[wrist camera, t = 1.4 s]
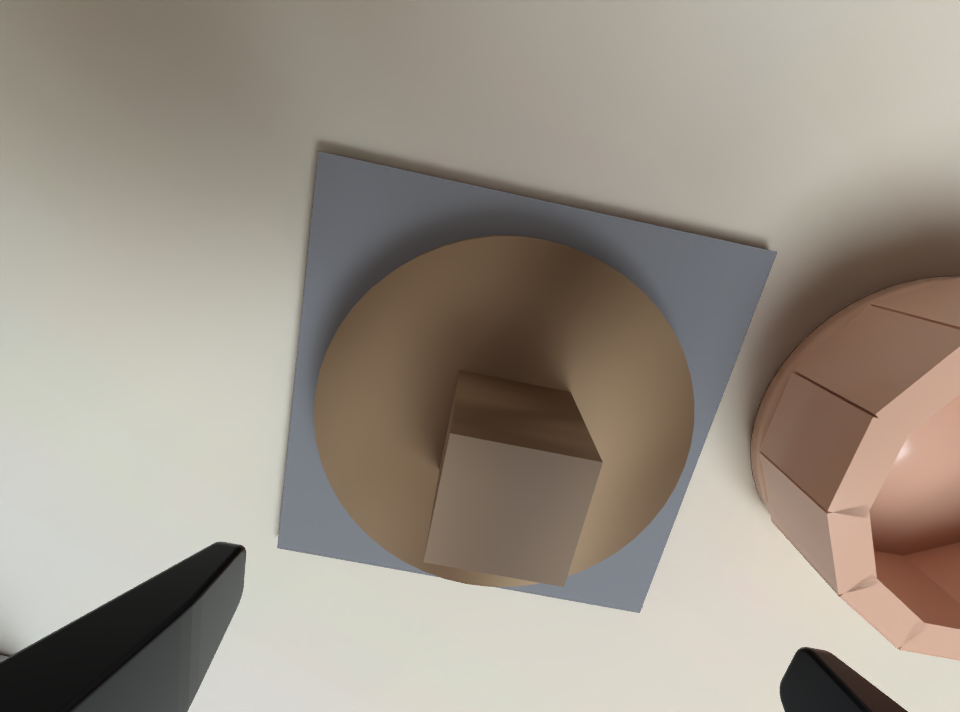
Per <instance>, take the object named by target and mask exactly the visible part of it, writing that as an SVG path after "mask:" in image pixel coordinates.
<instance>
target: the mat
mask: <svg viewBox="0 0 960 712" xmlns="http://www.w3.org/2000/svg"><path fill="white" fill-rule="evenodd" d="M490 235H519V236H526V237H533V238H540V239H546V240H549V241H553V242H556V243H560V244H563V245H567V246H569V247H572V248H574V249H576V250H579V251H581V252H583V253H585V254H588V255H590V256H592V257H594V258H596V259H598V260H600V261H602V262H604V263H605V264H607V265H608V266H610V267H612V268H613V269H615V270H616V271H618V272H620V273H621V274H623V275H624V276H625V277H627V278H628V279H629V280H630V281H631V282H633V283H634V284H635V285H636V286H637V287H639V288H640V289H641V290H642V291H643V292H644V293H645V294H646V295H647V296H648V297H649V299H650V300H651V301H652V302H653V303H654V304H655V305H656V306H657V307H658V309H659V310H660V311H661V312H662V314H663V315H664V317H665V318H666V320H667V321H668V323H669V325H670V326H671V328H672V329H673V331H674V332H675V335H676V337H677V339H678V341H679V343H680V345H681V347H682V350H683V352H684V354H685V358H686V361H687V364H688V368H689V371H690V374H691V379H692V386H693V393H694V428H693V435H692V442H691V447H690V450H689V454H688V457H687V461H686V464H685V467H684V469H683V472H682V474H681V476H680V478H679V481H678V483H677V485H676V487H675V489H674V491H673V492H672V494H671V495H670V497H669V499H668V500H667V502H666V504H665V505H664V507H663V508H662V509H661V510H660V512H659V513H658V514H657V515H656V517H655V518H654V519H653V520H652V522H651V523H650V524H649V525H648V526H647V527H646V528H645V529H644V530H643V531H642V532H641V533H640V534H639V535H638V536H637V537H636V538H634V539H633V540H632V541H631V542H629V543H628V544H627V545H625V546H624V547H623V548H622V549H620V550H619V551H618V552H616V553H615V554H613V555H611V556H610V557H608V558H606V559H605V560H603V561H601V562H599V563H598V564H596V565H594V566H591V567H589V568H587V569H585V570H583V571H580V572H578V573H576V574H573V575H569V576H567V579H566V582H565V586H564V587H561V586H555V585H549V584H544V583H539V584H534V585H524V586H514V587H498V588H503V589H509V590H514V591H520V592H525V593H531V594H537V595H542V596H548V597H553V598H559V599H564V600H570V601H576V602H581V603H587V604H592V605H598V606H604V607H609V608H615V609H620V610H626V611H631V612H637V613H640V611H641V608H642V605H643V603H644V600H645V597H646V595H647V592H648V590H649V587H650V584H651V582H652V579H653V576H654V574H655V571H656V569H657V566H658V563H659V561H660V558H661V555H662V553H663V550H664V548H665V545H666V542H667V540H668V537H669V535H670V532H671V529H672V527H673V524H674V521H675V519H676V516H677V514H678V511H679V508H680V506H681V503H682V500H683V498H684V495H685V493H686V490H687V487H688V485H689V482H690V479H691V477H692V474H693V472H694V469H695V466H696V464H697V461H698V458H699V456H700V453H701V451H702V448H703V445H704V443H705V440H706V437H707V435H708V432H709V430H710V427H711V424H712V422H713V419H714V417H715V414H716V411H717V409H718V406H719V403H720V401H721V398H722V396H723V393H724V390H725V388H726V385H727V382H728V380H729V377H730V375H731V372H732V369H733V367H734V364H735V361H736V359H737V356H738V354H739V351H740V348H741V346H742V343H743V340H744V338H745V335H746V333H747V330H748V327H749V325H750V322H751V319H752V317H753V314H754V312H755V309H756V306H757V304H758V301H759V299H760V296H761V293H762V291H763V288H764V285H765V283H766V280H767V278H768V275H769V272H770V270H771V267H772V264H773V262H774V259H775V257H776V254H777V252H775V251H770V250H766V249H761V248H757V247H752V246H748V245H743V244H739V243H734V242H730V241H725V240H721V239H716V238H711V237H707V236H702V235H698V234H693V233H689V232H684V231H680V230H675V229H671V228H666V227H661V226H657V225H652V224H648V223H643V222H639V221H634V220H630V219H625V218H621V217H616V216H611V215H607V214H602V213H598V212H593V211H589V210H584V209H580V208H575V207H571V206H566V205H561V204H557V203H552V202H548V201H543V200H539V199H534V198H530V197H525V196H521V195H516V194H512V193H507V192H502V191H498V190H493V189H489V188H484V187H480V186H475V185H471V184H466V183H462V182H457V181H452V180H448V179H443V178H439V177H434V176H430V175H425V174H421V173H416V172H412V171H407V170H402V169H398V168H393V167H389V166H384V165H380V164H375V163H371V162H366V161H362V160H357V159H353V158H348V157H343V156H339V155H334V154H330V153H325V152H321V151H318V158H317V168H316V177H315V187H314V197H313V206H312V216H311V226H310V236H309V245H308V255H307V265H306V274H305V284H304V294H303V304H302V313H301V323H300V333H299V342H298V352H297V362H296V371H295V381H294V391H293V401H292V410H291V420H290V430H289V439H288V449H287V459H286V469H285V478H284V488H283V498H282V507H281V517H280V527H279V536H278V546H277V548H280V549H285V550H291V551H297V552H302V553H308V554H313V555H319V556H325V557H330V558H336V559H341V560H347V561H352V562H358V563H364V564H369V565H375V566H380V567H386V568H391V569H397V570H403V571H408V572H414V573H419V574H425V575H431V576H436V575H433V574H430V573H427V572H424V571H422V570H420V569H418V568H416V567H414V566H412V565H410V564H408V563H406V562H404V561H402V560H401V559H399V558H397V557H396V556H394V555H393V554H391V553H389V552H388V551H386V550H385V549H384V548H382V547H381V546H380V545H379V544H378V543H376V542H375V541H374V540H373V539H371V538H370V537H369V536H368V535H367V534H366V533H365V532H364V531H363V530H362V529H361V528H360V527H359V526H358V525H357V524H356V523H355V522H354V521H353V519H352V518H351V517H350V515H349V514H348V512H347V511H346V510H345V508H344V507H343V506H342V504H341V503H340V501H339V500H338V498H337V496H336V494H335V493H334V491H333V489H332V487H331V485H330V484H329V481H328V479H327V476H326V474H325V471H324V468H323V466H322V463H321V460H320V456H319V452H318V447H317V443H316V437H315V427H314V400H315V391H316V386H317V381H318V375H319V371H320V368H321V365H322V363H323V360H324V357H325V354H326V351H327V349H328V347H329V345H330V343H331V341H332V339H333V337H334V335H335V333H336V331H337V329H338V328H339V326H340V325H341V323H342V322H343V321H344V319H345V318H346V316H347V315H348V314H349V312H350V311H351V309H352V308H353V307H354V306H355V305H356V304H357V303H358V302H359V301H360V299H361V298H362V297H363V296H364V295H365V294H366V293H367V292H368V291H369V290H370V289H371V288H372V287H374V286H375V285H376V284H377V283H379V282H380V281H381V280H382V279H384V278H385V277H386V276H387V275H389V274H390V273H391V272H393V271H394V270H395V269H397V268H398V267H400V266H401V265H403V264H405V263H407V262H408V261H410V260H412V259H413V258H415V257H417V256H418V255H420V254H423V253H425V252H427V251H430V250H432V249H435V248H437V247H439V246H442V245H445V244H449V243H452V242H456V241H460V240H464V239H467V238H475V237H483V236H490ZM436 577H438V576H436Z"/></svg>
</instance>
